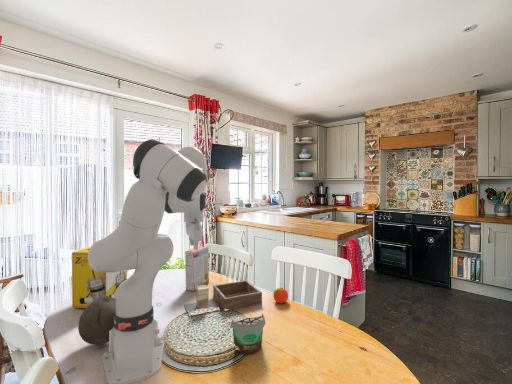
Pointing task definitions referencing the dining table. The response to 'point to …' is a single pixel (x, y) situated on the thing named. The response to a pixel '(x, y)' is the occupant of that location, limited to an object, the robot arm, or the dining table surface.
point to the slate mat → (193, 306)
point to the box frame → (237, 301)
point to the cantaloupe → (97, 320)
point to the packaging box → (91, 281)
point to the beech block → (202, 297)
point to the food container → (248, 334)
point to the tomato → (280, 295)
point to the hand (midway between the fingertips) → (193, 247)
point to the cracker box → (197, 267)
